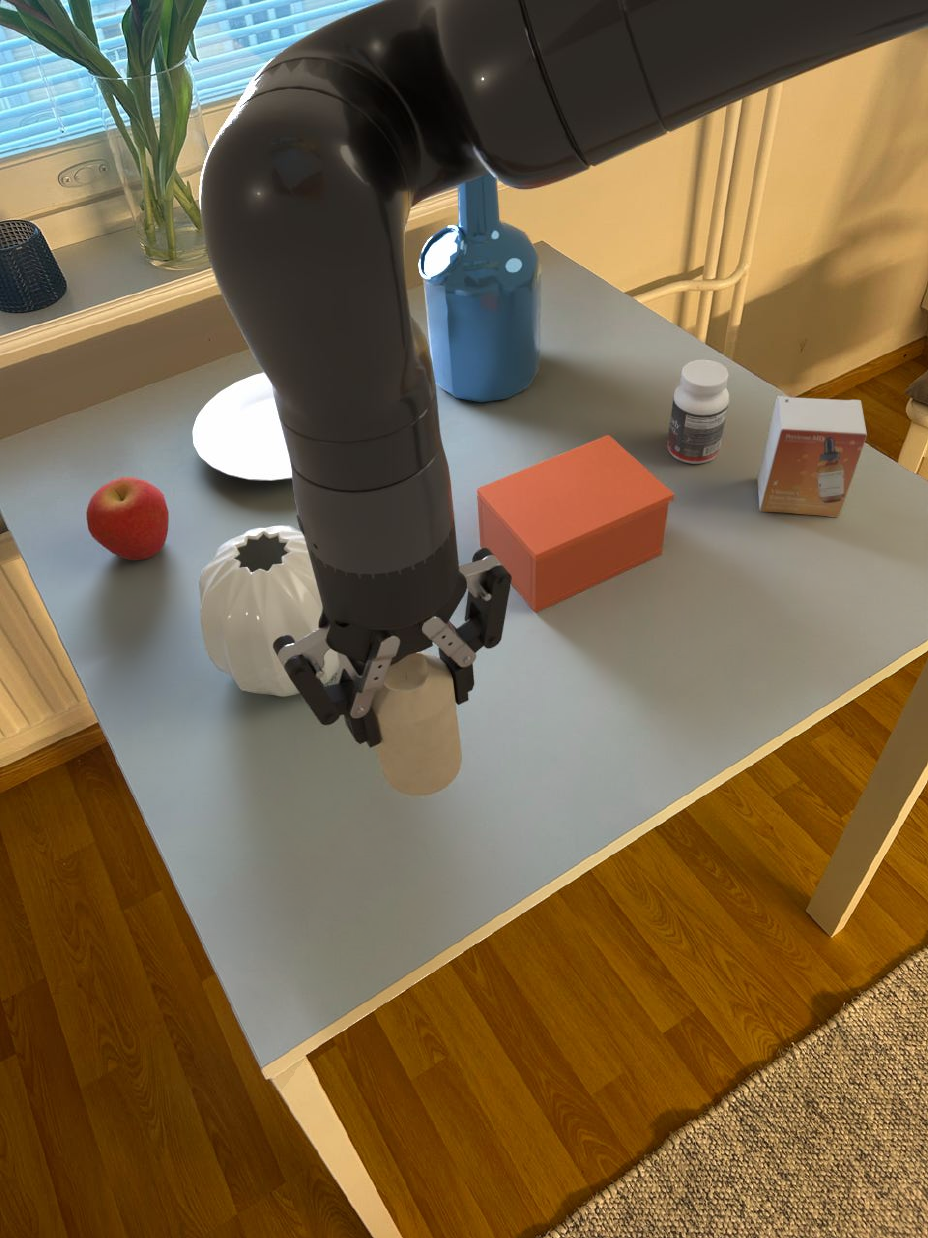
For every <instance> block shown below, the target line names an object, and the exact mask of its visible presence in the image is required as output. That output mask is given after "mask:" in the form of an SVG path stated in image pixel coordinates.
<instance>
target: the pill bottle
mask: <svg viewBox="0 0 928 1238" xmlns="http://www.w3.org/2000/svg"><path fill="white" fill-rule="evenodd" d="M680 373H681V374H680V379H679V381H680V383H679V384H678V385H677V386H676V388H675V390H674V392H673V396H672V404H671V410H670V411H671V412H670V418H669V426H668V434H667V441H666V443H667V444H666V447H667V450H668V452H669V454H670V455H671V456H672V457H673V458H674V459H676V460H678V461H680V462H682V463H685V464H692V465H698V464H700V465H701V464H705V463H708V462H710V461H712V460H714V459H715V458H716V457H717V456H718V454H719V453H720V450H721V446H722V445H721V444H722V440H723V435H724V430H725V424H726V419H727V414H728V408H729V403H730V393H729V391H728V389H727V386H728V381H729V370H728V369H727V367H726V366H724V364H722V363H720V362H718V361H715V360H712V359H694V360H692V361H689V362H688V363H685V365H683V367H682V370H681V372H680Z"/></svg>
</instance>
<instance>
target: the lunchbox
mask: <svg viewBox="0 0 928 1238" xmlns="http://www.w3.org/2000/svg"><path fill="white" fill-rule="evenodd" d="M476 497H477V498H476V499H477V514H478V531H479V533H478V535H479V547H480V549H482V548H488V549H489V550H490V551H491V552H492V553H493V554H494V556H496V557H497V559H498V560H499V561H500V562H501V563H502V565H503V566H504V567H505V569H506V570H507V571H508V572H509V573H510V574H511V576H512V579H511V586H512V587H514V589H515V590H516V591H517V593H518V594H519V595H520V596H521V597H522V598H523V599H524V601H525V602H526V603H527V605H529V607H530V608H531V609H532V610H533V612H534V613H539V612H540V611H543V610H545V609H548V608H549V607H551V606H554V605H555V604H558V603H561V602H562V601H564V600H566V599H569V598H570V597H573V596H575V595H577V594H580V593H582V592H584V591H586V590H588V589H590V588H593V587H594V586H597V585H598V584H601V583H603V582H605V581H607V580H610V579H611V578H614V577H616V576H618V575H620V574H622V573H625V572H627V571H629V570H631V569H633V568H636V567H638V566H640V565H642V564H644V563H646V562H648V561H650V560H653V559H655V558H657V557H659V556H661V555H662V554H663V547H664V546H663V545H664V540H665V532H666V526H667V525H666V524H667V518H668V511H669V504H670V502H668V503H666V504H664V505H661V506H659V507H657V508H655V509H652V510H650V511H648V512H646V513H643V514H641V515H639V516H637V517H634V518H632V519H630V520H628V521H625V522H623V523H621V524H619V525H616V526H614V527H612V528H610V529H607V530H605V531H603V532H601V533H598V534H596V535H594V536H592V537H589V538H587V539H585V540H583V541H580V542H578V543H576V544H574V545H571V546H569V547H567V548H565V549H562V550H560V551H558V552H556V553H554V554H551V555H549V556H547V557H545V558H542V559H540V560H538V561H535V560H534V559H533V557H532V556H531V555H530V554H529V553H528V552H527V551H526V549H525V548H524V547H523V546H522V545H521V544H520V543H519V542H518V540H517V539H516V538H515V537H514V536H513V535H512V534H511V532H510V531H509V530H508V529H507V528H506V527H505V526H504V525H503V523H502V522H501V521H500V520H499V519H498V518H497V517H496V515H495V514H494V513H493V512H492V511H491V510H490V509H489V508H488V506H487V505H486V504H485V503H484V502H483V501H482V500H481V498H480V497H479V496H478V495H477V496H476Z"/></svg>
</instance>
